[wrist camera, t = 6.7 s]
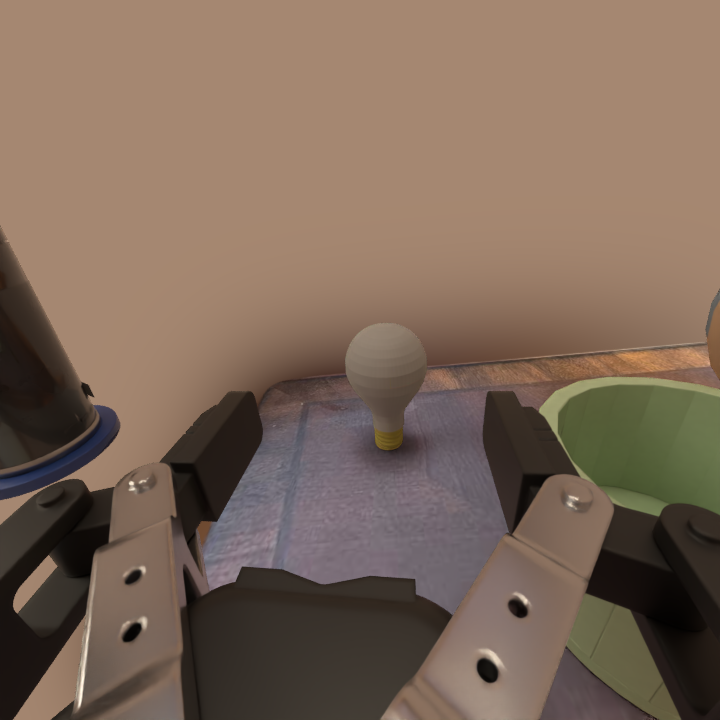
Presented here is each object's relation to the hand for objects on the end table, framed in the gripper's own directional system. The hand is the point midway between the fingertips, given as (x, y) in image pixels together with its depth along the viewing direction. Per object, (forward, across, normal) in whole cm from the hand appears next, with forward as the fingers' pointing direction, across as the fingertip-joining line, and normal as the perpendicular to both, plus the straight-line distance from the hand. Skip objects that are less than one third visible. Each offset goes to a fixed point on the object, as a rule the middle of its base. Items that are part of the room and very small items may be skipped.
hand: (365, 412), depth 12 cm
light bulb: (+11, 0, +11) cm, 16 cm away
